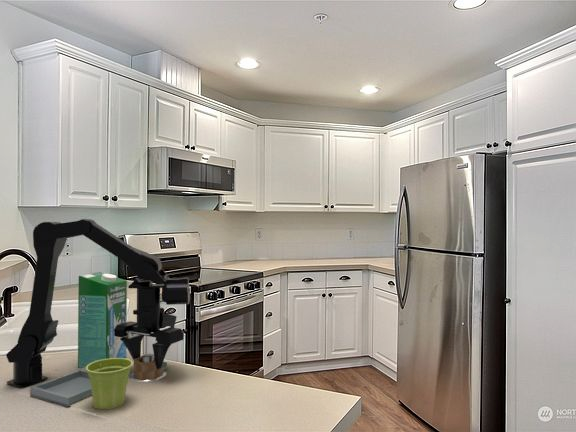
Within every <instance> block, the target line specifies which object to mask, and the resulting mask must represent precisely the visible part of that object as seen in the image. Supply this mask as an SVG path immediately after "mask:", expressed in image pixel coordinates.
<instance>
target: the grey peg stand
mask: <svg viewBox="0 0 576 432" xmlns="http://www.w3.org/2000/svg"><path fill="white" fill-rule="evenodd" d="M142 356H143V362H144V363H145V362H153V361H154V353H144V354H142ZM166 376H167V371H166V370H165V369H164V370H163V375H162V376H160V377H158V378H156V379H151V380H143V381H142V380H137V379H134V372H133V373H132V374H130V376H128V379H130V380H131V381H132V382H133V381H134V382H138V383H147V382H153V381H154V382H155V381H158V380H160V379H162V378H165V377H166Z"/></svg>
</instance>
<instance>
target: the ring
mask: <svg viewBox="0 0 576 432" xmlns="http://www.w3.org/2000/svg"><path fill="white" fill-rule="evenodd" d="M167 369H168V362H166V361H163V364H162V367H161V368H160V369H157V367H156V363H155V357H154V361H153V362H145V363H144V362H143V355H141V356H140V357H138V358H135V359H134V360H133V373H134V379H137V380H142V381H143V380H151V379H156V378H158V377H160V376H162V375H163V370H164V371H165V370H167Z"/></svg>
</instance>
